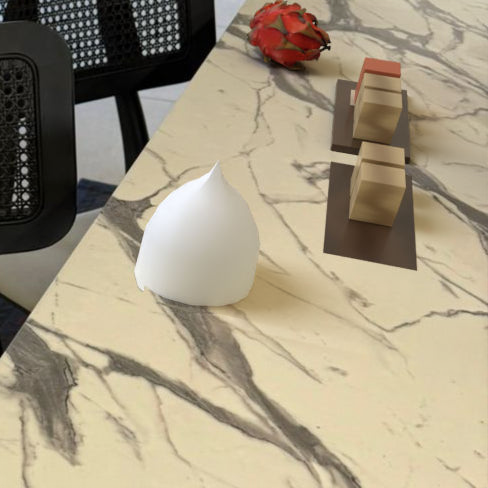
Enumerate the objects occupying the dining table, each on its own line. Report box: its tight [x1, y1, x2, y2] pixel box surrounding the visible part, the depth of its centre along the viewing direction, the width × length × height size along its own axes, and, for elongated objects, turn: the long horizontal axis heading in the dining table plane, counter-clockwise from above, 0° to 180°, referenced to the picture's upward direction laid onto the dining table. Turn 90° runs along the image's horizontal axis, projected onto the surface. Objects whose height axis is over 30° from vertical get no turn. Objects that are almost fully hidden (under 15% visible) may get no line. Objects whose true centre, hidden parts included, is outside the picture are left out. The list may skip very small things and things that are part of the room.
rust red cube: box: [355, 56, 402, 103], centre depth 129 cm, size 4×4×4 cm
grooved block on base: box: [322, 142, 418, 272], centre depth 106 cm, size 9×22×5 cm, turn 165°
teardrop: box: [133, 159, 261, 315], centre depth 91 cm, size 11×11×12 cm
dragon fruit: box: [246, 0, 332, 71], centre depth 138 cm, size 8×8×12 cm
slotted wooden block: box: [330, 73, 412, 165], centre depth 126 cm, size 9×22×5 cm, turn 165°
